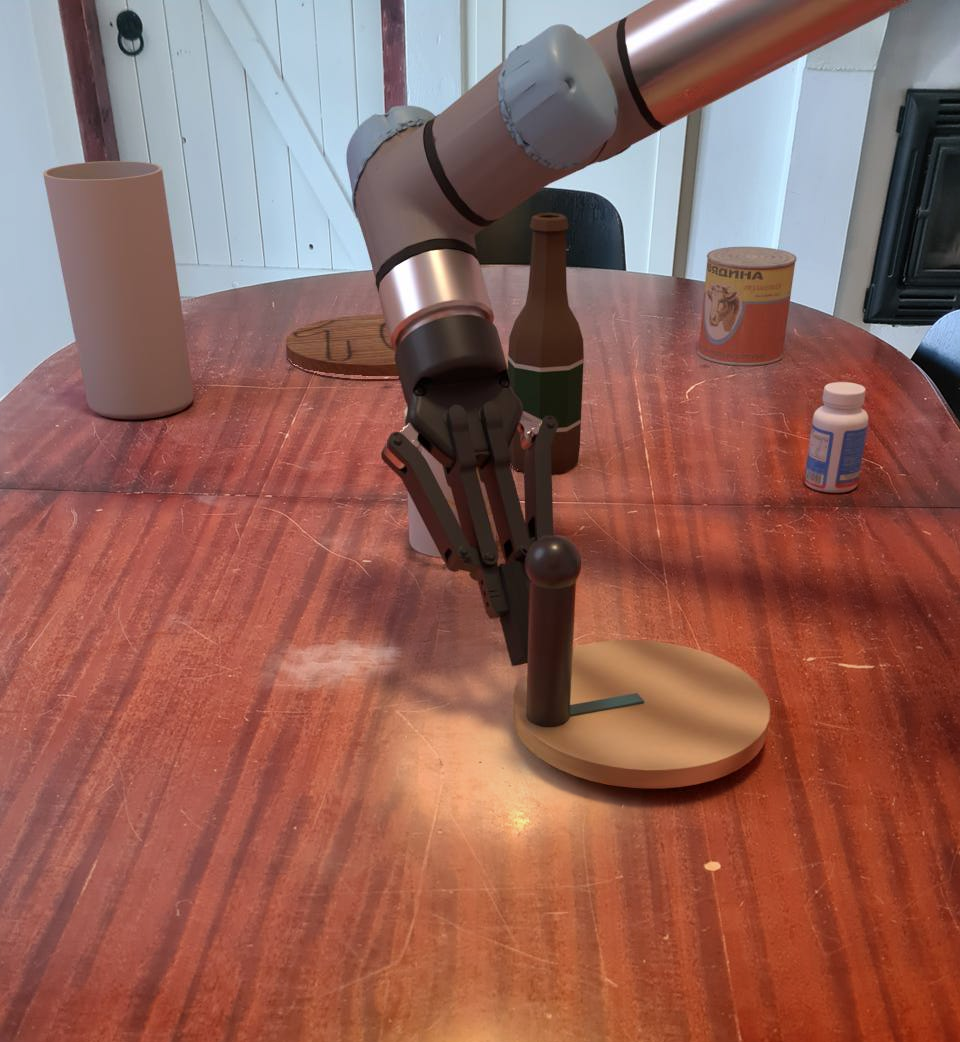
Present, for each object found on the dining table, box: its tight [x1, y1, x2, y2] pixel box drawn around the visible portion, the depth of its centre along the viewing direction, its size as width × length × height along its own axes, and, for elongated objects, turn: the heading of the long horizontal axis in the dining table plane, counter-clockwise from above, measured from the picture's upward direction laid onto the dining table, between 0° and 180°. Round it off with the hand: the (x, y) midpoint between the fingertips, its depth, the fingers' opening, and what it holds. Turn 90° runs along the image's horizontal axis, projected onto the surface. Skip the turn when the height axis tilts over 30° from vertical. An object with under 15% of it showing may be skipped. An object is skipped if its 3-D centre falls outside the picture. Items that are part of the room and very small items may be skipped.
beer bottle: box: [507, 212, 585, 475], centre depth 125 cm, size 8×8×24 cm
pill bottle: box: [804, 381, 869, 494], centre depth 124 cm, size 6×5×10 cm
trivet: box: [285, 313, 400, 381], centre depth 165 cm, size 25×25×2 cm
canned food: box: [697, 246, 797, 367], centre depth 161 cm, size 11×11×12 cm
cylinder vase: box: [42, 160, 195, 421], centre depth 141 cm, size 12×12×25 cm
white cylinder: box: [403, 406, 497, 559], centre depth 112 cm, size 8×8×12 cm
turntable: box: [512, 534, 771, 789], centre depth 83 cm, size 18×18×14 cm
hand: (527, 658), depth 85 cm, fingers closed
